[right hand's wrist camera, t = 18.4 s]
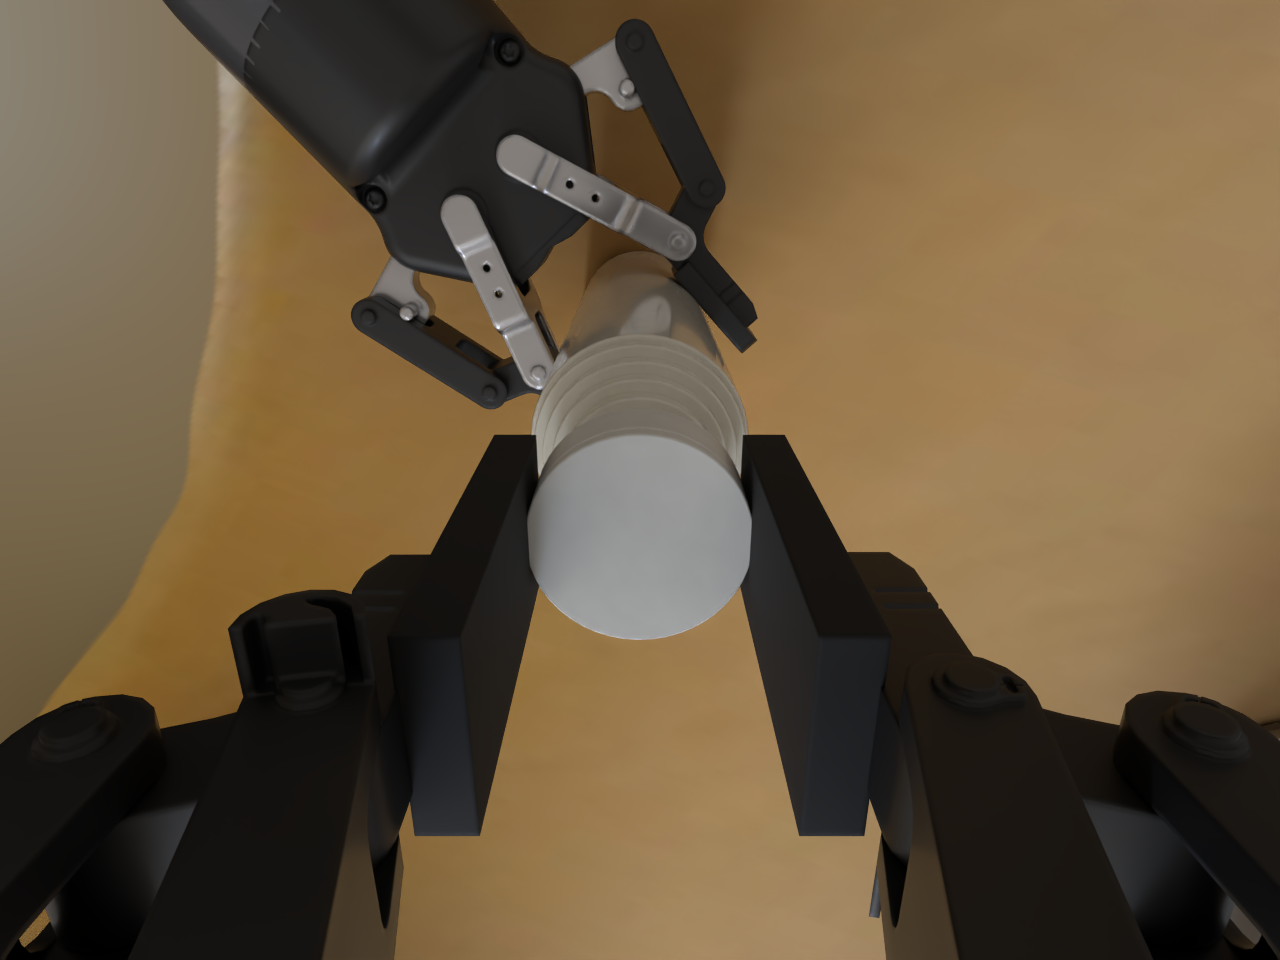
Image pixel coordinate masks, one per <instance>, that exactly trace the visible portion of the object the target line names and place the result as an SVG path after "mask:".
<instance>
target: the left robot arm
mask: <svg viewBox="0 0 1280 960" xmlns="http://www.w3.org/2000/svg"><path fill="white" fill-rule="evenodd" d="M163 1H164V3H165V4H166V5H167V6H168V8H169V9H170V10H171V11H172V12H173V14H174V15H175V16H176V17H177V18H178V19H179V20H180V22H181V23H182V24H183V25H184V26H185V27H186V28H187V29H188V30H189V31H190V32H191V33H192V34H193V35H194V37H195V38H196V39H197V40H198V41H199V42H200V43H201V44H202V45H203V46H204V47H205V48H206V49H207V50H208V51H209V52H210V53H211V54H212V55H213V56H214V57H215V58H216V59H217V60H218V61H219V62H220V63H221V64H222V65H223V66H224V67H225V68H226V69H227V70H228V71H229V72H230V73H231V74H232V75H233V76H234V77H235V78H236V79H237V80H238V81H239V82H240V83H241V84H242V85H243V86H244V87H245V88H246V89H247V90H248V91H249V92H250V93H251V94H252V95H253V96H254V97H255V98H256V99H257V100H258V101H259V102H260V103H261V104H262V105H263V107H264V108H265V109H266V110H267V111H268V112H269V113H270V114H271V115H272V116H273V117H274V118H275V119H276V120H277V121H278V122H279V123H280V124H281V125H282V126H283V127H284V128H285V129H286V130H287V131H288V132H289V133H290V134H291V135H292V136H293V137H294V138H295V139H296V140H297V141H298V142H299V143H300V144H301V145H302V146H303V147H304V148H305V149H306V150H307V151H308V152H309V153H310V154H311V155H312V156H313V157H314V158H315V159H316V160H317V161H318V162H319V163H320V164H321V165H322V166H323V167H324V168H325V169H326V170H327V171H328V172H329V173H330V174H331V175H332V176H333V177H334V178H335V179H336V180H337V181H338V182H339V183H340V184H341V185H342V186H343V187H344V188H345V189H346V190H347V191H348V192H349V194H350V195H351V196H352V197H353V198H354V199H355V200H356V201H357V202H359V203H360V204H361V205H362V206H363V207H364V208H365V209H366V210H367V211H368V212H369V213H370V215H371V216H372V217H373V218H374V220H375V222H376V223H377V225H378V227H379V229H380V231H381V234H382V236H383V239H384V243H385V245H386V248H387V250H388V252H389V253H390V255H391V257H390V259H389V261H388V263H387V265H386V266H385V268H384V270H383V272H382V274H381V276H380V278H379V279H378V281H377V283H376V285H375V287H374V289H373V290H372V292H371V294H370V295H369V296H368V297H367V298H364V299H362V300H360V301H359V302H357V303H356V304H355V305H354V306H353V308H352V311H351V318H352V322H353V324H354V326H355V327H356V328H357V329H358V330H359V331H361V332H362V333H364V334H365V335H367V336H369V337H370V338H372V339H373V340H375V341H377V342H378V343H380V344H381V345H383V346H385V347H386V348H388V349H390V350H391V351H393V352H394V353H396V354H398V355H399V356H401V357H402V358H404V359H406V360H407V361H409V362H411V363H412V364H414V365H415V366H417V367H419V368H420V369H422V370H423V371H425V372H427V373H428V374H430V375H431V376H433V377H435V378H436V379H438V380H440V381H441V382H443V383H444V384H446V385H448V386H449V387H451V388H452V389H454V390H456V391H457V392H459V393H461V394H462V395H464V396H465V397H467V398H469V399H470V400H472V401H473V402H475V403H477V404H478V405H480V406H482V407H483V408H486V409H496V408H498V407H500V406H501V405H503V403H504V402H506V401H508V400H511V399H513V398H516V397H518V396H520V395H523V394H526V393H536V394H539V395H541V392H542V390H543V388H544V385H545V383H546V381H547V379H548V376H549V374H550V372H551V369H552V367H553V365H554V362H555V360H556V358H557V355H558V353H559V351H560V349H559V347H558V344H557V342H556V340H555V338H554V336H553V333H552V331H551V329H550V327H549V324H548V322H547V320H546V318H545V315H544V313H543V311H542V307H541V302H540V299H539V297H538V294H537V292H536V290H535V287H534V285H533V283H532V281H531V279H530V277H531V276H532V275H533V274H534V273H535V272H536V271H537V270H538V269H539V268H540V267H541V266H542V265H543V264H544V263H545V261H546V259H547V258H548V256H549V254H550V252H551V251H552V249H553V247H554V245H556V244H558V243H560V242H562V241H563V240H565V239H567V238H569V237H571V236H572V235H573V234H574V233H575V232H576V231H577V230H578V229H579V228H580V227H581V226H582V225H583V224H584V223H585V222H586V221H587V220H588V219H589V218H591V219H593V220H595V221H597V222H599V223H601V224H602V225H604V226H606V227H608V228H610V229H612V230H614V231H616V232H618V233H621V234H623V235H626V236H628V237H629V238H631V239H633V240H635V241H637V242H639V243H641V244H643V245H644V246H646V247H648V248H650V249H652V250H654V251H656V252H658V253H659V254H661V255H663V256H665V258H666V259H667V260H668V261H669V262H670V263H671V264H672V266H673V267H671V269H672V273H673V276H674V277H675V278H676V279H677V281H678V282H679V283H680V284H681V285H682V286H683V287H684V288H685V290H686V291H687V292H688V293H689V294H690V295H691V296H692V297H693V298H694V299H695V300H696V301H697V303H698V304H699V306H700V307H701V308H702V309H703V310H704V311H705V312H706V313H707V315H708V316H709V317H710V318H711V319H712V320H713V321H714V323H715V324H716V325H717V326H718V327H719V328H720V329H721V331H722V332H723V333H724V334H725V335H726V336H727V337H728V339H729V340H730V341H731V342H732V343H733V344H734V345H735V346H736V348H737V349H738V350H739V351H740V352H741V353H743V352H744V351H746V350H747V349H748V348H749V347H750V346H751V345H752V344H754V343H755V342H756V341H757V339H756V338H755V336H754V335H753V333H752V332H751V331H750V329H749V328H748V326H749V325H751V324H752V323H753V322H754V321H755V320H756V319H757V315H756V312H755V308H754V305H753V303H752V302H751V301H750V299H749V298H748V297H747V296H746V295H745V293H744V292H743V291H742V290H741V289H740V288H739V286H738V285H737V284H736V283H735V282H734V281H733V279H732V278H731V277H730V276H729V275H728V273H727V272H726V271H725V270H724V269H723V268H722V266H721V265H720V264H719V263H718V262H717V261H716V259H715V258H714V257H713V256H712V255H711V254H710V252H709V251H708V250H707V248H706V246H705V244H704V239H703V234H704V229H705V226H706V224H707V222H708V220H709V218H710V216H711V214H712V212H713V210H714V208H715V207H716V205H717V204H718V203H719V202H720V201H721V200H722V199H723V197H724V194H725V182H724V179H723V177H722V175H721V173H720V171H719V169H718V166H717V164H716V162H715V160H714V158H713V156H712V154H711V152H710V150H709V148H708V146H707V144H706V142H705V139H704V137H703V135H702V133H701V131H700V129H699V127H698V125H697V123H696V121H695V119H694V117H693V114H692V112H691V110H690V108H689V106H688V104H687V102H686V100H685V98H684V96H683V94H682V92H681V89H680V87H679V85H678V83H677V81H676V79H675V77H674V75H673V73H672V71H671V69H670V67H669V65H668V62H667V60H666V58H665V56H664V54H663V52H662V50H661V48H660V46H659V44H658V42H657V40H656V37H655V35H654V33H653V31H652V29H651V28H650V26H649V25H648V24H647V23H645V22H644V21H642V20H639V19H631V20H628V21H626V22H624V23H623V24H622V25H621V26H620V27H619V29H618V31H617V33H616V37H615V38H613V39H612V40H610V41H609V42H607V43H606V44H604V45H602V46H601V47H599V48H598V49H596V50H595V51H593V52H591V53H590V54H588V55H587V56H585V57H584V58H582V59H580V60H579V61H577V62H576V63H574V64H572V65H571V66H568V65H567V64H566V63H564V62H562V61H560V60H558V59H555V58H552V57H549V56H547V55H545V54H543V53H541V52H539V51H538V50H536V49H535V48H533V47H532V46H531V45H530V44H529V42H528V41H527V40H526V39H525V38H524V37H523V35H522V34H521V33H520V32H519V31H518V30H517V28H516V27H515V26H514V25H513V24H512V23H511V21H510V20H509V19H508V18H507V17H506V16H505V14H504V13H503V12H502V11H501V10H500V8H499V7H498V6H497V5H496V4H495V3H494V1H493V0H163ZM593 93H600V94H603V95H605V96H607V97H608V98H609V99H610V100H611V101H612V102H613V104H614V105H615V106H616V107H617V108H618V109H619V110H621V111H624V112H632V111H635V110H637V109H639V108H640V107H642V108H643V110H644V112H645V114H646V116H647V118H648V120H649V122H650V124H651V126H652V128H653V130H654V132H655V134H656V136H657V138H658V140H659V142H660V144H661V146H662V148H663V150H664V152H665V154H666V156H667V158H668V160H669V162H670V164H671V166H672V168H673V170H674V172H675V174H676V176H677V178H678V180H679V182H680V184H681V186H682V188H681V190H680V192H679V193H678V195H677V197H676V199H675V201H674V203H673V205H672V207H671V209H670V211H669V212H667V211H665V210H663V209H661V208H659V207H658V206H656V205H654V204H652V203H650V202H648V201H647V200H645V199H643V198H641V197H640V196H638V195H636V194H635V193H633V192H631V191H629V190H627V189H626V188H624V187H622V186H620V185H618V184H616V183H615V182H613V181H611V180H609V179H607V178H606V177H604V176H602V175H600V174H598V173H596V169H595V161H594V153H593V145H592V137H591V129H590V121H589V113H588V105H587V97H586V96H588V95H590V94H593ZM597 195H598V196H599V198H598V197H597ZM420 272H423V273H428V274H432V275H437V276H442V277H447V278H452V279H457V280H461V281H466V282H471V283H474V285H475V287H476V289H477V291H478V293H479V295H480V297H481V300H482V302H483V304H484V306H485V308H486V310H487V312H488V314H489V316H490V319H491V321H492V323H493V325H494V327H495V328H496V330H497V331H498V332H499V333H500V334H501V335H502V336H503V338H504V340H505V342H506V344H507V346H508V348H509V351H510V353H511V355H512V356H511V357H509V358H507V359H504V360H503V359H502V358H500V357H499V356H497V355H495V354H494V353H492V352H491V351H489V350H488V349H486V348H484V347H483V346H481V345H480V344H478V343H477V342H475V341H473V340H472V339H470V338H469V337H467V336H466V335H464V334H462V333H461V332H459V331H458V330H456V329H455V328H453V327H452V326H450V325H448V324H447V323H445V322H444V321H442V320H441V319H439V318H437V317H436V316H434V313H435V302H434V300H433V298H432V297H431V295H430V294H428V293H427V292H426V291H425V290H424V289H423V287H422V286H421V283H420V280H419V273H420ZM497 291H498V292H499V295H498V293H497Z"/></svg>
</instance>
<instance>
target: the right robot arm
mask: <svg viewBox="0 0 1280 960" xmlns="http://www.w3.org/2000/svg"><path fill="white" fill-rule="evenodd" d="M538 480H539V478H538V459H537V440H536V435H494V437H493V439H492V440H491V442H490V444H489V446H488V448H487V450H486V452H485V453H484V455H483V457H482V459H481V461H480V463H479V465H478V467H477V468H476V470H475V472H474V474H473V476H472V478H471V480H470V482H469V483H468V485H467V487H466V489H465V491H464V493H463V495H462V497H461V498H460V500H459V502H458V504H457V506H456V508H455V510H454V512H453V513H452V515H451V517H450V519H449V521H448V523H447V525H446V527H445V528H444V530H443V532H442V534H441V536H440V538H439V540H438V542H437V543H436V545H435V547H434V549H433V551H432V553H431V555H389V556H388V557H386V558H385V559H383V560H382V561H380V562H379V563H377V564H376V565H374V566H373V567H371V568H370V569H368V570H367V571H365V572H364V574H363V575H362V577H361V578H360V580H359V581H358V583H357V584H356V586H355V587H354V589H353V590H352V594H348V593H344V592H340V591H336V590H307V591H301V592H295V593H290V594H284V595H282V596H279V597H276V598H273V599H270V600H267V601H265V602H262V603H260V604H258V605H256V606H255V607H253V608H251V609H249V610H248V611H246V612H244V613H243V614H241V615H240V616H239V617H238V618H237V619H236V620H235V621H234V622H233V624H232V625H231V626H230V627H229V628H228V631H229V636H230V640H231V644H232V649H233V653H234V658H235V662H236V666H237V671H238V675H239V680H240V684H241V689H242V693H243V699H242V701H241V704H240V706H239V708H238V710H237V712H235V713H231V714H227V715H224V716H220V717H216V718H212V719H207V720H202V721H197V722H192V723H187V724H182V725H177V726H172V727H167V728H162V729H160V727H159V723H158V720H157V716H156V712H155V709H154V707H153V706H152V705H150V704H149V703H148V702H147V701H146V700H144V699H143V698H139V697H134V696H128V695H123V694H121V695H109V696H97V697H91V698H86V699H82V700H81V701H79V700H77V701H74V702H71V703H68V704H65V705H63V706H61V707H59V708H57V709H55V710H53V711H51V712H48V713H46V714H44V715H42V716H40V717H37V718H36V719H34V720H33V721H31V722H30V723H28V724H27V725H25V726H24V727H22V728H21V729H19V730H18V731H16V732H15V733H13V734H12V735H11V736H10V737H8V738H7V739H6V740H5V741H4V742H2V743H1V744H0V960H394V953H395V944H396V934H397V925H398V915H399V906H400V897H401V887H402V878H403V868H404V866H403V859H402V853H401V846H400V839H399V830H400V827H401V825H402V822H403V819H404V816H405V813H406V811H407V808H408V805H409V802H410V805H411V812H412V819H413V827H414V834H415V836H480V833H481V828H482V824H483V820H484V816H485V812H486V807H487V803H488V799H489V795H490V790H491V786H492V782H493V778H494V774H495V769H496V765H497V761H498V757H499V752H500V748H501V744H502V740H503V736H504V731H505V727H506V723H507V719H508V714H509V710H510V706H511V702H512V698H513V693H514V689H515V685H516V681H517V676H518V672H519V668H520V664H521V660H522V655H523V651H524V647H525V643H526V638H527V634H528V630H529V626H530V622H531V617H532V613H533V609H534V605H535V600H536V596H537V592H538V588H539V584H538V583H537V581H536V579H535V577H534V575H533V572H532V570H531V567H530V560H529V543H528V526H527V516H528V511H529V508H530V505H531V502H532V499H533V496H534V492H535V489H536V486H537V483H538ZM741 482H742V486H743V489H744V492H745V495H746V498H747V501H748V504H749V508H750V511H751V515H752V527H751V544H750V561H749V568H748V571H747V573H746V575H745V577H744V579H743V581H742V583H741V585H740V587H741V592H742V596H743V600H744V604H745V608H746V613H747V617H748V621H749V625H750V630H751V634H752V638H753V642H754V646H755V651H756V655H757V659H758V663H759V668H760V672H761V676H762V680H763V684H764V689H765V693H766V697H767V701H768V706H769V710H770V714H771V718H772V723H773V727H774V731H775V735H776V739H777V744H778V748H779V752H780V756H781V761H782V765H783V769H784V773H785V777H786V782H787V786H788V790H789V794H790V799H791V803H792V807H793V811H794V815H795V820H796V824H797V828H798V832H799V836H864V834H865V827H866V820H867V813H868V806H869V798H870V801H871V804H872V807H873V809H874V812H875V815H876V818H877V820H878V823H879V826H880V829H881V831H882V833H881V839H880V846H879V853H878V859H877V866H876V873H875V879H874V886H873V893H872V899H871V906H870V913H869V916H870V917H876V918H879V916H880V911H881V914H882V923H883V933H884V942H885V951H886V960H1280V722H1277V723H1273V724H1268V725H1264V726H1260V725H1259V724H1257V723H1256V722H1255V721H1253V720H1252V719H1250V718H1249V717H1247V716H1246V715H1244V714H1242V713H1240V712H1238V711H1235V710H1233V709H1231V708H1229V707H1226V706H1224V705H1222V704H1220V703H1219V702H1217V701H1214V700H1211V699H1208V698H1205V697H1198V695H1193V694H1187V693H1178V692H1166V691H1154V692H1148V693H1143V694H1137V695H1136V696H1135V697H1134V698H1132V699H1131V700H1130V701H1129V702H1128V703H1126V705H1125V708H1124V712H1123V715H1122V719H1121V723H1120V725H1115V724H1110V723H1105V722H1100V721H1095V720H1090V719H1085V718H1080V717H1075V716H1070V715H1065V714H1061V713H1057V712H1053V711H1050V710H1046V709H1043V708H1042V707H1041V704H1040V702H1039V700H1038V698H1037V696H1036V694H1035V693H1034V692H1033V690H1032V689H1031V688H1030V686H1029V685H1028V684H1027V683H1026V681H1025V680H1023V679H1022V678H1020V677H1019V676H1017V675H1016V674H1015V673H1013V672H1012V671H1010V670H1009V669H1007V668H1006V667H1003V666H1001V665H998V664H996V663H994V662H991V661H989V660H986V659H984V658H980V657H975V656H973V655H972V653H971V652H970V650H969V649H968V648H967V646H966V645H965V643H964V642H963V640H962V639H961V637H960V636H959V634H958V633H957V631H956V630H955V628H954V627H953V625H952V624H951V622H950V621H949V619H948V618H947V617H946V615H945V614H944V612H943V611H942V609H939V608H938V603H937V602H936V600H935V599H934V597H933V596H932V594H931V593H930V592H927V587H926V586H925V584H924V583H923V581H922V580H921V578H920V577H919V575H918V574H917V572H916V571H915V569H914V568H912V567H911V566H909V565H908V564H906V563H905V562H903V561H902V560H900V559H898V558H897V557H895V556H894V555H892V554H891V553H889V552H847V551H846V549H845V547H844V545H843V543H842V541H841V540H840V538H839V536H838V534H837V532H836V530H835V528H834V527H833V525H832V523H831V521H830V519H829V517H828V515H827V513H826V512H825V510H824V508H823V506H822V504H821V502H820V500H819V498H818V497H817V495H816V493H815V491H814V489H813V487H812V485H811V483H810V482H809V480H808V478H807V476H806V474H805V472H804V470H803V468H802V467H801V465H800V463H799V461H798V459H797V457H796V455H795V453H794V452H793V450H792V448H791V446H790V444H789V442H788V440H787V438H786V437H785V435H743V441H742V460H741ZM44 909H46V912H47V914H48V917H49V920H50V922H49V923H48V924H47V926H46V927H45V928H44V929H43V930H42V932H41V933H40V934H39V935H38V936H37V937H36V938H35V939H34V940H33V941H32V942H30V943H29V944H28V945H27V946H26V947H25V948H24V947H23V946H22V945H21V943H20V940H19V938H20V937H21V936H22V935H23V933H24V932H25V931H26V930H27V929H28V928H29V926H30V925H31V924H32V923H33V922H34V921H35V919H36V918H37V917H38V916H39V915H40V914H41V912H42V911H43V910H44Z"/></svg>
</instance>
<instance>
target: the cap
mask: <svg viewBox="0 0 1280 960" xmlns="http://www.w3.org/2000/svg"><path fill="white" fill-rule="evenodd" d="M527 526H528V543H529V560H530V567H531V570H532V572H533V575H534V577H535V579H536V581H537V583H538V584H539V586H540V588H541V590H542V591H543V592H544V593H545V595H546V596H547V597H548V599H549V600H550V601H551V602H552V603H553V604H554V605H555V606H556V607H557V608H558V609H559V610H560V611H561V612H562V613H564V614H565V615H566V616H568V617H569V618H570V619H572V620H573V621H575V622H577V623H578V624H580V625H582V626H584V627H586V628H588V629H590V630H593V631H595V632H598V633H601V634H604V635H608V636H612V637H617V638H622V639H635V640H642V639H656V638H662V637H667V636H671V635H675V634H679V633H681V632H684V631H686V630H689V629H691V628H693V627H695V626H697V625H699V624H701V623H703V622H704V621H706V620H707V619H709V618H710V617H712V616H713V615H714V614H716V613H717V612H718V611H719V610H720V609H721V608H722V607H723V606H725V605H726V603H727V602H728V601H729V600H730V599H731V598H732V596H733V595H734V594H735V593H736V591H737V589H738V588H739V586H740V585H741V583H742V581H743V579H744V577H745V575H746V573H747V571H748V568H749V561H750V544H751V527H752V515H751V511H750V508H749V504H748V501H747V498H746V495H745V492H744V489H743V486H742V482H741V479H740V476H739V473H738V471H737V469H736V466H735V464H734V462H733V460H732V459H731V457H730V456H729V454H728V452H727V451H726V450H725V448H724V447H723V446H722V445H721V444H720V442H719V441H718V440H717V439H716V438H715V437H713V436H712V435H711V434H710V433H709V432H708V431H707V430H705V429H704V428H702V427H701V426H699V425H698V424H696V423H694V422H692V421H690V420H688V419H686V418H684V417H682V416H679V415H676V414H674V413H671V412H666V411H661V410H657V409H646V408H635V409H624V410H618V411H613V412H609V413H606V414H603V415H600V416H597V417H595V418H593V419H591V420H589V421H587V422H585V423H583V424H582V425H580V426H578V427H577V428H575V429H574V430H573V431H572V432H570V433H569V434H568V435H567V436H565V437H564V438H563V440H562V441H561V442H560V443H559V444H558V445H557V446H556V447H555V449H554V450H553V451H552V453H551V454H550V456H549V457H548V459H547V461H546V463H545V465H544V467H543V469H542V471H541V474H540V477H539V480H538V483H537V486H536V489H535V492H534V496H533V499H532V502H531V505H530V508H529V511H528V516H527Z"/></svg>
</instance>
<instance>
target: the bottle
mask: <svg viewBox="0 0 1280 960" xmlns="http://www.w3.org/2000/svg"><path fill="white" fill-rule="evenodd" d="M671 267H673V266H672V264H671V263H670V262H669V261H668V260H667V259H666V258H665V257H664V256H662V255H659V254H656V253H653V252H647V251H633V252H627V253H623V254H620V255H618V256H615V257H614V258H612V259H610V260H608V261H607V262H606V263H604V264H603V265H602V266H601V267H600V268H599V269H598V270H597V271H596V273H595V274H594V275H593V277H592V278H591V280H590V282H589V284H588V286H587V288H586V291H585V293H584V295H583V298H582V300H581V302H580V305H579V307H578V309H577V311H576V314H575V316H574V318H573V321H572V323H571V325H570V328H569V330H568V332H567V335H566V337H565V339H564V342H563V344H562V346H561V348H560V351H559V353H558V355H557V358H556V360H555V362H554V365H553V367H552V369H551V372H550V374H549V376H548V379H547V381H546V383H545V385H544V388H543V390H542V392H541V395H540V397H539V400H538V402H537V404H536V408H535V411H534V415H533V420H532V428H531V435H536V440H537V459H538V474H539V477H540V474H541V471H542V469H543V467H544V465H545V463H546V461H547V459H548V457H549V456H550V454H551V453H552V451H553V450H554V449H555V447H556V446H557V445H558V444H559V443H560V442H561V441H562V440H563V438H564V437H565V436H567V435H568V434H569V433H570V432H572V431H573V430H574V429H575V428H577V427H578V426H580V425H582V424H583V423H585V422H587V421H589V420H591V419H593V418H595V417H597V416H600V415H603V414H606V413H609V412H613V411H618V410H624V409H635V408H646V409H657V410H661V411H666V412H671V413H674V414H676V415H679V416H682V417H684V418H686V419H688V420H690V421H692V422H694V423H696V424H698V425H699V426H701V427H702V428H704V429H705V430H707V431H708V432H709V433H710V434H711V435H712V436H713V437H715V438H716V439H717V440H718V441H719V442H720V444H721V445H722V446H723V447H724V448H725V450H726V451H727V452H728V454H729V456H730V457H731V459H732V460H733V462H734V464H735V466H736V469H737V471H738V473H739V476H740V475H741V460H742V441H743V435H748V424H747V419H746V413H745V410H744V407H743V404H742V401H741V398H740V396H739V393H738V391H737V389H736V386H735V384H734V382H733V380H732V377H731V375H730V373H729V370H728V368H727V366H726V363H725V361H724V359H723V356H722V354H721V352H720V349H719V347H718V345H717V342H716V340H715V338H714V335H713V333H712V331H711V328H710V326H709V324H708V322H707V319H706V317H705V315H704V312H703V310H702V308H701V307H700V306H699V304H698V303H697V301H696V300H695V299H694V298H693V297H692V296H691V295H690V294H689V293H688V292H687V291H686V290H685V288H684V287H683V286H682V285H681V284H680V283H679V282H678V281H677V279H676V278H675V277H674V276H673V273H672V269H671Z"/></svg>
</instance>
